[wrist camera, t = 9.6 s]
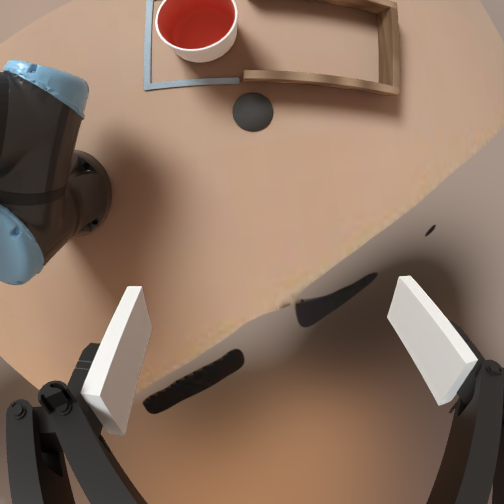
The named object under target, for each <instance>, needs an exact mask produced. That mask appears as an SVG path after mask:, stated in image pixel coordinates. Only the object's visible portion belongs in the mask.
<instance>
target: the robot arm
mask: <svg viewBox="0 0 504 504" xmlns="http://www.w3.org/2000/svg"><path fill="white" fill-rule="evenodd" d="M88 95H89V87H88V84H87V82H86V81H85V80H83V79H82V78H80V77H77V76H75V75H72V74H69V73H67V72H63V71H60V70H57V69H54V68H50V67H46V66H42V65H37V64H33V63H29V62H25V61H20V60H10V61H8V63H7V64H6V66H5V67H4V69H3V72H0V281H2V282H4V283H7V284H11V285H21V284H24V283H26V282H28V281H29V280H30V279H31V278H32V277H33V276H35V275H36V274H38V273H40V272H41V270H42V269H43V267H44V266H45V264H46V263H47V262H48V261H49V260H50V259H51V258H52V257H53V256H54V255H55V254H56V253H57V252H58V251H59V250H60V249H61V248H62V247H63V246H64V245H65V244H66V243H67V242H68V241H69V240H70V239H72V238H76V237H80V236H84V235H87V234H89V233H90V232H92V231H93V230H95V229H96V228H97V227H98V226H99V225H100V224H101V223H102V222H103V220H104V219H105V217H106V216H107V214H108V211H109V208H110V204H111V186H110V181H109V178H108V176H107V173H106V171H105V170H104V168H103V167H102V165H101V164H100V163H99V162H98V161H97V160H96V159H95V158H94V157H93V156H91V155H90V154H88V153H86V152H83V151H79V150H74V148H75V144H76V140H77V136H78V132H79V128H80V124H81V121H82V120H83V119H84V116H85V115H84V110H85V106H86V102H87V99H88ZM387 318H388V319H389V321H390V323H391V324H392V326H393V327H394V329H395V331H396V332H397V334H398V335H399V337H400V338H401V340H402V342H403V344H404V345H405V347H406V349H407V350H408V352H409V354H410V355H411V357H412V359H413V361H414V362H415V364H416V366H417V367H418V369H419V371H420V373H421V374H422V376H423V378H424V380H425V381H426V383H427V385H428V387H429V389H430V391H431V392H432V394H433V396H434V398H435V399H436V401H437V403H438V405H442V404H444V403H447V402H450V401H451V400H452V399H453V397H454V396H455V395H456V393H457V394H458V396H459V399H458V400H457V402H456V403H455V404H454V406H453V407H452V408H451V410H450V412H449V413H452V411H453V410H454V409H455V413H454V417H453V422H452V426H451V430H450V434H449V438H448V442H447V445H446V449H445V453H444V456H443V459H442V462H441V465H440V468H439V471H438V474H437V477H436V480H435V483H434V486H433V488H432V491H431V493H430V496H429V499H428V501H427V503H426V504H487V503H488V499H489V495H490V491H491V486H492V483H493V495H492V504H504V368H502V367H501V366H500V365H499V364H498V363H497V362H495V361H493V360H485V359H484V358H483V356H482V355H481V354H480V352H479V351H478V349H477V348H476V347H475V345H474V344H473V343H472V342H471V341H470V339H469V338H468V336H467V335H466V334H465V333H464V331H463V330H462V329H461V328H460V327H459V326H458V325H457V324H455V323H454V322H449V321H448V319H447V318H446V317H445V316H444V315H443V313H442V312H441V311H440V310H439V308H437V306H436V305H435V304H434V303H433V301H432V300H431V299H430V298H429V297H428V295H427V294H426V293H425V292H424V291H423V290H422V288H421V287H420V286H419V285H418V284H417V283H416V282H415V281H414V279H413V278H412V277H411V276H400V277H399V278H398V282H397V286H396V289H395V293H394V296H393V300H392V303H391V307H390V310H389V313H388V316H387ZM151 332H152V326H151V322H150V318H149V314H148V310H147V306H146V301H145V297H144V293H143V288H142V286H128V287H127V289H126V291H125V293H124V295H123V297H122V299H121V301H120V303H119V305H118V307H117V309H116V311H115V313H114V315H113V318H112V320H111V322H110V324H109V326H108V328H107V331H106V333H105V335H104V337H103V339H102V342H101V344H97V343H90V344H89V345H88V346H87V347H86V348H85V349H84V350H83V352H82V354H81V356H80V358H79V361H78V362H77V365H76V369H74V371H73V373H72V376H71V378H70V380H69V383H68V385H66V384H65V383H63V382H61V381H51V382H48V383H47V384H45V385H44V386H43V387H42V388H41V389H40V391H39V394H38V401H39V402H40V404H41V405H42V406H41V407H32V406H31V405H30V403H29V402H28V401H26V400H23V399H21V400H16V401H14V402H13V403H12V404H11V405H10V406H9V408H8V409H7V414H6V441H7V442H6V443H7V462H8V473H9V483H10V490H11V497H12V503H13V504H75V501H74V497H73V493H72V490H71V486H70V482H69V477H68V473H67V468H66V463H65V458H64V453H65V455H66V458H67V460H68V462H69V464H70V466H71V468H72V470H73V472H74V474H75V476H76V478H77V480H78V482H79V484H80V486H81V488H82V489H83V491H84V493H85V495H86V496H87V498H88V500H89V502H90V503H91V504H147V502H146V501H145V500H144V498H143V497H142V496H141V494H140V493H139V492H138V490H137V489H136V488H135V487H134V485H133V483H132V482H131V481H130V479H129V478H128V476H127V475H126V474H125V472H124V470H123V469H122V468H121V466H120V464H119V463H118V461H117V460H116V458H115V457H114V455H113V454H112V452H111V450H110V448H109V447H108V445H107V443H106V442H105V440H104V438H103V437H102V435H101V430H102V427H104V429H105V430H106V432H107V433H110V434H117V435H123V436H125V433H126V428H127V424H128V420H129V415H130V411H131V407H132V403H133V399H134V394H135V390H136V387H137V383H138V379H139V375H140V371H141V367H142V364H143V360H144V356H145V353H146V349H147V346H148V342H149V339H150V335H151ZM63 452H64V453H63Z"/></svg>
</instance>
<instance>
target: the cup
mask: <svg viewBox="0 0 504 504" xmlns="http://www.w3.org/2000/svg"><path fill="white" fill-rule="evenodd" d="M237 22H238V9H237V6H236V3H235V1H234V0H164V1H163V3H162V4H161V5H160V7H159V9H158V11H157V14H156V20H155V25H156V30H157V33H158V35H159V37H160V38H161V39H162V40H163V41H164V42H165V43H166V44H167V45H168V46H169V47H170V48H171V49H172V50H173V51H174V52H175V53H176V54H177V55H178V56H180V57H181V58H183V59H185V60H188V61H191V62H209V61H212V60H215V59H217V58H219V57H221V56H223V55H224V54H225V53H226V52H228V51H229V49H230V48H231V47H232V46H233V44H234V42H235V39H236V36H237Z"/></svg>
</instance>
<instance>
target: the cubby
mask: <svg viewBox="0 0 504 504" xmlns="http://www.w3.org/2000/svg"><path fill="white" fill-rule="evenodd" d="M309 1H316V2H323V3H329V4H335V5H340V6H345V7H350V8H355V9H359V10H363V11H368V12H372V13H375V14H377V20H378V43H379V83H376V82H370V81H365V80H359V79H353V78H346V77H339V76H332V75H323V74H314V73H303V72H289V71H269V70H244V72H243V82H276V83H295V84H308V85H319V86H328V87H337V88H344V89H352V90H358V91H365V92H371V93H376V94H382V95H400V45H399V25H398V11H397V3H396V2H392V1H389V0H309Z"/></svg>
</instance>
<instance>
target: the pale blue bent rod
mask: <svg viewBox="0 0 504 504" xmlns="http://www.w3.org/2000/svg"><path fill="white" fill-rule="evenodd" d="M153 1H154V0H147V5H146V21H145V44H144V90H152V89H160V88H169V87H180V86H193V85H210V84H239V78H240V77H230V78H203V79H188V80H176V81H166V82H158V83H151V32H152V12H153Z"/></svg>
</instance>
